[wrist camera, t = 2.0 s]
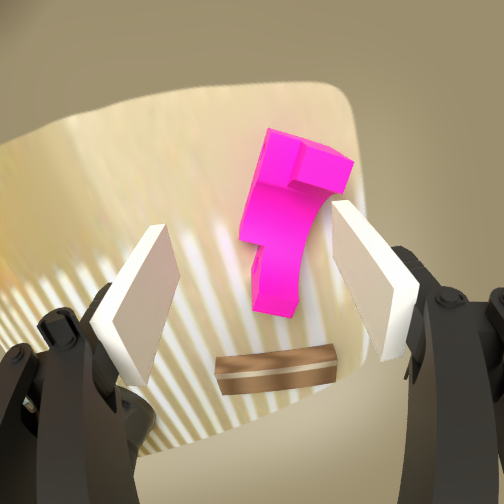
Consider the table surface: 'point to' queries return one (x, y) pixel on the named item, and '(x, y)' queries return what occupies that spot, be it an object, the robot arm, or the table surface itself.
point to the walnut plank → (276, 370)
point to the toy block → (286, 213)
